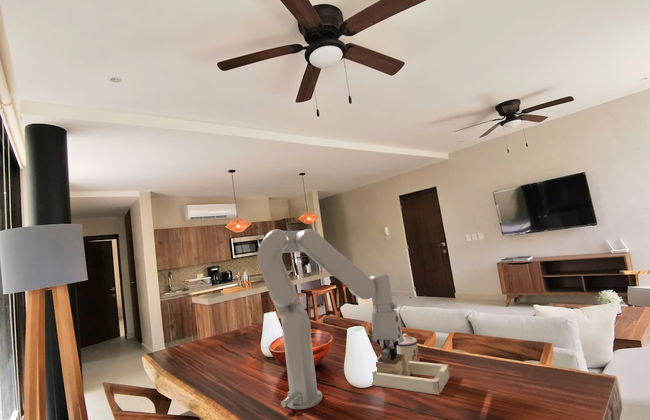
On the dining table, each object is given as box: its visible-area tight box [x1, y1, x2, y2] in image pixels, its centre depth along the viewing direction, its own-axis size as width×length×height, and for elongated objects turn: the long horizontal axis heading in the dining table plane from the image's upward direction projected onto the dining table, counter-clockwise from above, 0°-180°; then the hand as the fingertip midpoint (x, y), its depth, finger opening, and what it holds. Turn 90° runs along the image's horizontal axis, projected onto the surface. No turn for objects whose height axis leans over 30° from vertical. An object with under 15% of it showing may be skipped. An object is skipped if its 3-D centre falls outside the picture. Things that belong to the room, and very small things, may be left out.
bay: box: [370, 361, 451, 396], centre depth 117 cm, size 16×24×5 cm, turn 56°
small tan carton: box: [376, 344, 411, 376], centre depth 121 cm, size 10×10×11 cm
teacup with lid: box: [397, 333, 421, 362], centre depth 137 cm, size 12×9×12 cm
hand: (390, 358), depth 121 cm, fingers closed on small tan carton, 2 cm apart
